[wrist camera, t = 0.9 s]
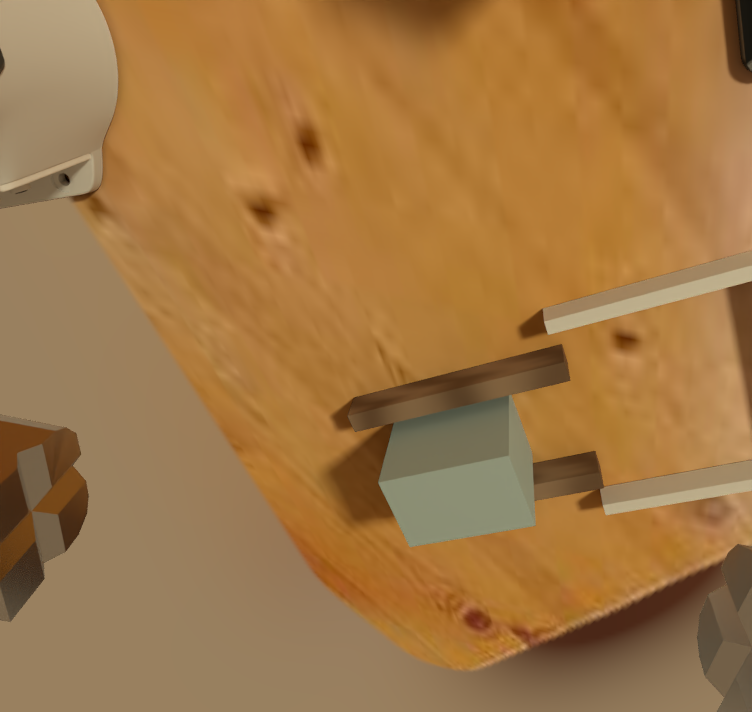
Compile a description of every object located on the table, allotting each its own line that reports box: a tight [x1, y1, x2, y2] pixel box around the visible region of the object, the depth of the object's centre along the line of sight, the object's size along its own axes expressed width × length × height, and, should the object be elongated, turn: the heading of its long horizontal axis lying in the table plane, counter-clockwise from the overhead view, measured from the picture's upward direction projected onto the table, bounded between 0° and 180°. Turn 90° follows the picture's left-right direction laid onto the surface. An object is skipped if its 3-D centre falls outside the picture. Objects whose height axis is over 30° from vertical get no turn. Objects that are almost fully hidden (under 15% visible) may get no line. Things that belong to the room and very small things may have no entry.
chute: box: [347, 344, 604, 501], centre depth 49 cm, size 16×11×2 cm
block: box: [378, 395, 536, 547], centre depth 47 cm, size 9×6×8 cm, turn 113°
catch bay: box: [543, 251, 752, 515], centre depth 45 cm, size 14×17×2 cm
